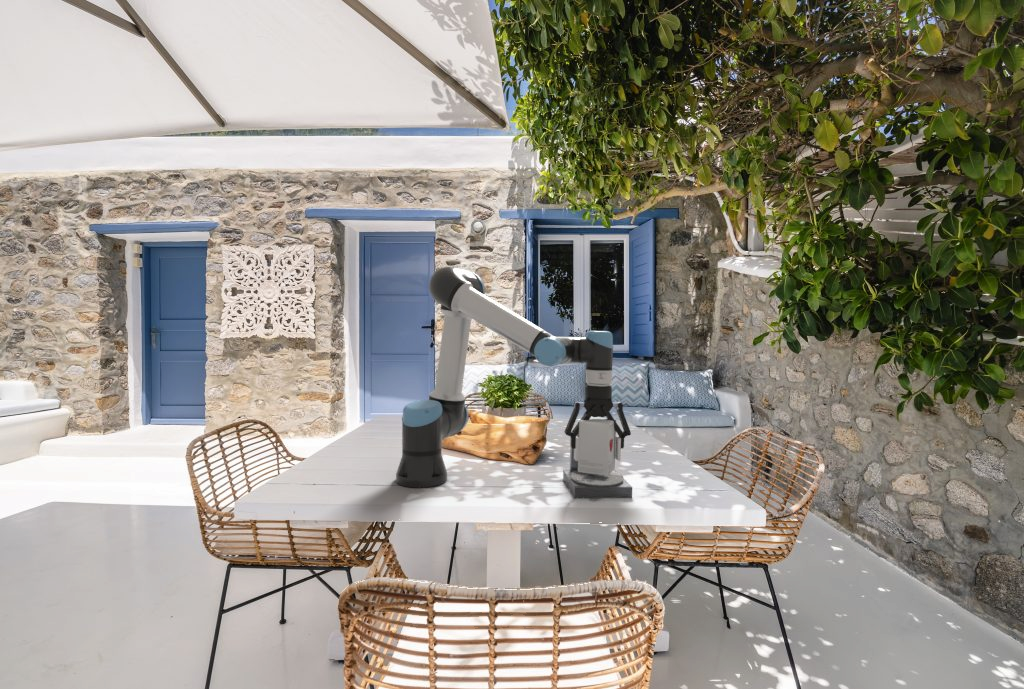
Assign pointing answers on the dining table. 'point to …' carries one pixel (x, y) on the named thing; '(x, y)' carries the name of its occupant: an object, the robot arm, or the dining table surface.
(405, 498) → the dining table surface
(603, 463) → the supplement box
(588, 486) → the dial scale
